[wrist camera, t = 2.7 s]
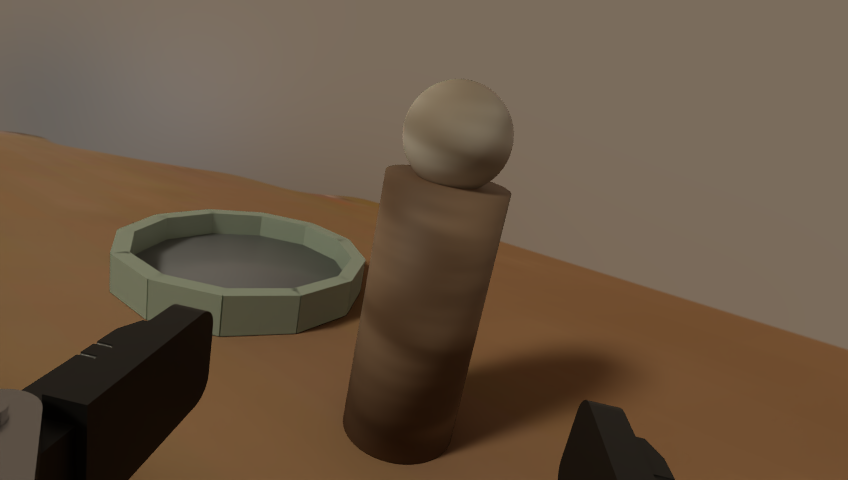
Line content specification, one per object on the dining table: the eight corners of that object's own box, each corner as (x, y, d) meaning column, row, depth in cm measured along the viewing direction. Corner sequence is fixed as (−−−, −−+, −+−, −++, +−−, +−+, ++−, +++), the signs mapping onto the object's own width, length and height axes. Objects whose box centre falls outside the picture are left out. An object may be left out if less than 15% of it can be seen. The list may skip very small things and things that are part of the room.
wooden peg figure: (453, 404, 27) (529, 92, 22) (447, 475, 22) (544, 93, 17) (356, 382, 27) (412, 69, 22) (329, 448, 22) (393, 63, 18)
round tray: (375, 265, 44) (380, 237, 43) (320, 359, 29) (326, 319, 28) (195, 226, 45) (197, 198, 44) (48, 297, 29) (46, 256, 29)
